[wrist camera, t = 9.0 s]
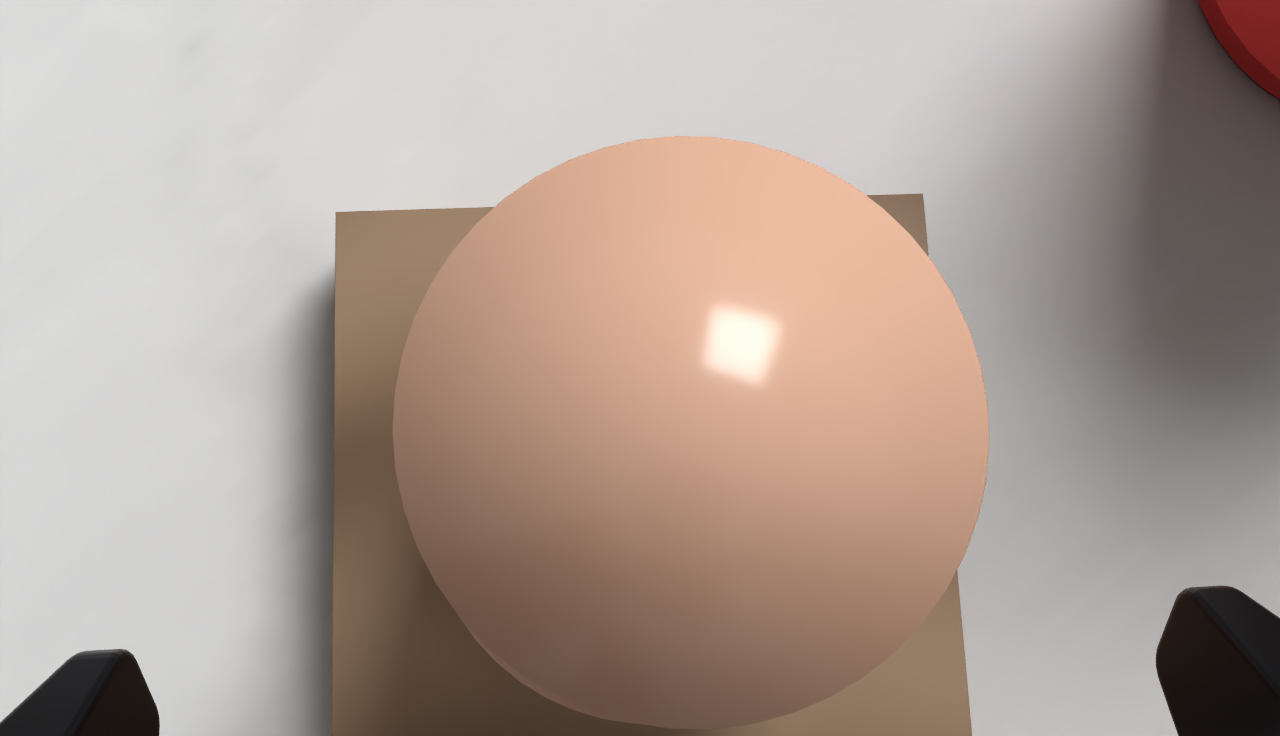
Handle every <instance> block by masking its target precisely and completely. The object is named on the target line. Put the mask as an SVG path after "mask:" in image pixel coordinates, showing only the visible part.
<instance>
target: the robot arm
mask: <svg viewBox="0 0 1280 736" xmlns="http://www.w3.org/2000/svg"><path fill="white" fill-rule="evenodd" d="M1156 668H1157V674H1158V677H1159V681H1160V684H1161V686H1162V689H1163V692H1164V695H1165V698H1166V701H1167V704H1168V707H1169V710H1170V713H1171V715H1172V718H1173V721H1174V724H1175V727H1176V730H1177V733H1178V736H1280V618H1279V617H1278V616H1276V615H1275V614H1273V613H1272V612H1270V611H1269V610H1267V609H1266V608H1265V607H1263V606H1262V605H1260V604H1259V603H1257V602H1256V601H1254V600H1253V599H1252V598H1250V597H1249V596H1247V595H1246V594H1244V593H1243V592H1241V591H1239V590H1237V589H1235V588H1233V587H1229V586H1208V587H1191V588H1187V589H1184V590H1183V591H1182V592H1181V593H1180V594H1179V595H1178V596H1177V598H1176V600H1175V603H1174V606H1173V608H1172V611H1171V613H1170V616H1169V619H1168V621H1167V624H1166V626H1165V629H1164V632H1163V634H1162V637H1161V639H1160V642H1159V645H1158V648H1157V652H1156ZM159 727H160V725H159V715H158V710H157V707H156V704H155V702H154V700H153V698H152V695H151V693H150V691H149V688H148V686H147V684H146V681H145V679H144V677H143V675H142V672H141V670H140V668H139V665H138V663H137V661H136V659H135V657H134V656H133V655H132V654H131V653H130V652H129V651H127V650H123V649H112V650H94V651H84V652H80V653H77V654H76V655H74V656H72V657H71V658H70V659H68V660H67V661H66V662H65V663H64V664H63V665H62V666H61V667H60V668H58V669H57V670H56V671H55V672H54V673H53V674H52V675H51V676H50V677H49V678H48V679H47V680H46V681H44V682H43V683H42V684H41V685H40V686H39V687H38V688H37V689H36V690H35V691H34V692H33V693H32V694H30V695H29V696H28V697H27V698H26V699H25V700H24V701H23V702H22V703H21V704H20V705H19V706H18V707H16V708H15V709H14V710H13V711H12V712H11V713H10V714H9V715H8V716H7V717H6V718H5V719H4V720H2V721H1V722H0V736H159Z"/></svg>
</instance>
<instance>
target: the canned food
mask: <svg viewBox="0 0 1280 736" xmlns="http://www.w3.org/2000/svg"><path fill="white" fill-rule="evenodd" d="M1198 1H1199V4H1200V7H1201V9H1202V11H1203V13H1204V15H1205V17H1206V19H1207V21H1208V23H1209V25H1210V27H1211V29H1212V31H1213V33H1214V35H1215V37H1216V38H1217V39H1218V41H1219V42H1220V43H1221V45H1222V46H1223V47H1224V49H1225V50H1226V51H1227V53H1228V54H1229V55H1230V57H1231V58H1232V59H1233V61H1234V62H1235V63H1236V64H1237V65H1238V66H1239V67H1240V68H1241V69H1242V70H1243V71H1244V72H1245V73H1246V74H1247V75H1248V76H1250V77H1251V78H1252V79H1253V80H1254V81H1255V82H1256V83H1257V84H1258V85H1259V86H1260V87H1261V88H1263V89H1264V90H1266V91H1267V92H1269V93H1271V94H1272V95H1274V96H1275V97H1277V98H1278V99H1280V0H1198Z"/></svg>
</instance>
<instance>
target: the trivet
mask: <svg viewBox="0 0 1280 736" xmlns="http://www.w3.org/2000/svg"><path fill="white" fill-rule="evenodd" d="M867 197H869V198H870V199H871V200H873V201H874V202H875V203H877V204H878V205H879V206H881V207H882V208H883V209H884V210H885V211H886V212H887V213H888V214H889V215H891V216H892V217H893V218H894V219H895V220H896V221H897V222H898V223H899V224H900V225H901V226H902V227H903V228H904V229H905V230H906V231H907V232H908V233H909V234H910V235H911V236H912V237H913V239H914V240H915V241H916V242H917V243H918V245H919V246H920V247H921V248H922V250H923V251H924V252H925V253H926V255H927V256H928V245H927V234H926V223H925V212H924V201H923V194H901V195H868V196H867ZM493 208H494V207H484V208H452V209H420V210H388V211H356V212H336V239H335V372H334V505H333V639H332V736H972V729H971V718H970V707H969V696H968V685H967V674H966V663H965V652H964V641H963V630H962V619H961V608H960V597H959V586H958V575H957V570H956V572H955V574H954V576H953V578H952V580H951V582H950V584H949V586H948V587H947V589H946V591H945V592H944V594H943V595H942V597H941V598H940V599H939V601H938V602H937V604H936V605H935V606H934V608H933V609H932V611H931V612H930V613H929V615H928V616H927V618H926V619H925V620H924V622H923V623H922V624H921V625H920V626H919V627H918V628H917V629H916V630H915V632H914V633H913V634H912V635H911V636H910V637H909V638H908V639H907V640H906V641H905V642H904V643H903V644H902V645H901V646H900V647H899V648H898V649H897V651H896V652H894V653H893V654H892V655H891V656H889V657H888V658H887V659H886V660H884V661H883V662H882V663H881V664H879V665H878V666H877V667H876V668H874V669H873V670H872V671H871V672H869V673H868V674H867V675H866V676H865V677H863V678H861V679H860V680H858V681H856V682H855V683H853V684H851V685H850V686H848V687H846V688H845V689H843V690H841V691H840V692H838V693H836V694H835V695H833V696H831V697H829V698H827V699H825V700H822V701H820V702H818V703H815V704H813V705H811V706H808V707H806V708H804V709H801V710H799V711H796V712H794V713H792V714H788V715H784V716H780V717H777V718H773V719H769V720H766V721H762V722H758V723H754V724H748V725H741V726H733V727H725V728H717V729H670V728H663V727H657V726H650V725H643V724H633V723H627V722H620V721H613V720H607V719H602V718H598V717H595V716H591V715H588V714H585V713H581V712H578V711H574V710H572V709H570V708H567V707H565V706H563V705H561V704H559V703H556V702H554V701H552V700H550V699H547V698H545V697H544V696H542V695H540V694H539V693H537V692H536V691H534V690H532V689H531V688H529V687H528V686H526V685H524V684H523V683H521V682H520V681H518V680H517V679H516V678H515V677H514V676H512V675H511V674H510V673H509V672H507V671H506V670H505V669H504V668H503V667H501V666H500V665H499V664H498V663H497V662H495V660H494V659H493V658H492V657H491V656H490V655H489V654H488V653H487V652H486V651H485V650H484V648H483V647H482V646H481V645H480V644H479V643H478V642H477V641H476V640H475V639H474V637H473V636H472V634H471V633H470V631H469V630H468V629H467V627H466V626H465V624H464V623H463V621H462V620H461V619H460V617H459V616H458V614H457V613H456V611H455V610H454V609H453V607H452V606H451V604H450V603H449V601H448V600H447V599H446V597H445V596H444V594H443V593H442V591H441V590H440V589H439V587H438V586H437V584H436V583H435V581H434V579H433V577H432V575H431V573H430V571H429V569H428V567H427V565H426V563H425V561H424V560H423V558H422V556H421V554H420V552H419V550H418V548H417V546H416V543H415V540H414V537H413V534H412V531H411V529H410V526H409V523H408V520H407V517H406V515H405V512H404V509H403V504H402V499H401V495H400V490H399V485H398V480H397V475H396V471H395V458H394V445H393V431H392V430H393V413H394V397H395V388H396V383H397V378H398V373H399V368H400V362H401V357H402V353H403V350H404V347H405V344H406V341H407V338H408V335H409V332H410V329H411V326H412V323H413V320H414V317H415V315H416V313H417V311H418V309H419V307H420V305H421V303H422V301H423V299H424V297H425V295H426V293H427V291H428V289H429V286H430V284H431V283H432V281H433V280H434V278H435V277H436V275H437V274H438V272H439V271H440V269H441V268H442V266H443V265H444V263H445V261H446V260H447V258H448V257H449V255H450V254H451V252H452V251H453V250H454V249H455V248H456V246H457V245H458V244H459V243H460V242H461V241H462V240H463V238H464V237H465V236H466V235H467V234H468V233H469V232H470V230H471V229H472V228H473V227H474V226H475V225H476V223H478V222H479V221H480V220H481V219H482V218H483V217H484V216H485V215H487V214H488V213H489V212H490V211H491V210H492V209H493ZM928 257H929V256H928Z"/></svg>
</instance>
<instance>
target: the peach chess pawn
mask: <svg viewBox="0 0 1280 736" xmlns="http://www.w3.org/2000/svg"><path fill="white" fill-rule="evenodd" d="M392 431H393V445H394V458H395V471H396V475H397V480H398V485H399V490H400V495H401V499H402V504H403V509H404V512H405V515H406V517H407V520H408V523H409V526H410V529H411V531H412V534H413V537H414V540H415V543H416V546H417V548H418V550H419V552H420V554H421V556H422V558H423V560H424V561H425V563H426V565H427V567H428V569H429V571H430V573H431V575H432V577H433V579H434V581H435V583H436V584H437V586H438V587H439V589H440V590H441V591H442V593H443V594H444V596H445V597H446V599H447V600H448V601H449V603H450V604H451V606H452V607H453V609H454V610H455V611H456V613H457V614H458V616H459V617H460V619H461V620H462V621H463V623H464V624H465V626H466V627H467V629H468V630H469V631H470V633H471V634H472V636H473V637H474V639H475V640H476V641H477V642H478V643H479V644H480V645H481V646H482V647H483V648H484V650H485V651H486V652H487V653H488V654H489V655H490V656H491V657H492V658H493V659H494V660H495V662H497V663H498V664H499V665H500V666H501V667H503V668H504V669H505V670H506V671H507V672H509V673H510V674H511V675H512V676H514V677H515V678H516V679H517V680H518V681H520V682H521V683H523V684H524V685H526V686H528V687H529V688H531V689H532V690H534V691H536V692H537V693H539V694H540V695H542V696H544V697H545V698H547V699H550V700H552V701H554V702H556V703H559V704H561V705H563V706H565V707H567V708H570V709H572V710H574V711H578V712H581V713H585V714H588V715H591V716H595V717H598V718H602V719H607V720H613V721H620V722H627V723H633V724H643V725H650V726H657V727H663V728H670V729H717V728H725V727H733V726H741V725H748V724H754V723H758V722H762V721H766V720H769V719H773V718H777V717H780V716H784V715H788V714H792V713H794V712H796V711H799V710H801V709H804V708H806V707H808V706H811V705H813V704H815V703H818V702H820V701H822V700H825V699H827V698H829V697H831V696H833V695H835V694H836V693H838V692H840V691H841V690H843V689H845V688H846V687H848V686H850V685H851V684H853V683H855V682H856V681H858V680H860V679H861V678H863V677H865V676H866V675H867V674H868V673H869V672H871V671H872V670H873V669H874V668H876V667H877V666H878V665H879V664H881V663H882V662H883V661H884V660H886V659H887V658H888V657H889V656H891V655H892V654H893V653H894V652H896V651H897V649H898V648H899V647H900V646H901V645H902V644H903V643H904V642H905V641H906V640H907V639H908V638H909V637H910V636H911V635H912V634H913V633H914V632H915V630H916V629H917V628H918V627H919V626H920V625H921V624H922V623H923V622H924V620H925V619H926V618H927V616H928V615H929V613H930V612H931V611H932V609H933V608H934V606H935V605H936V604H937V602H938V601H939V599H940V598H941V597H942V595H943V594H944V592H945V591H946V589H947V587H948V586H949V584H950V582H951V580H952V578H953V576H954V574H955V572H956V570H957V568H958V567H959V565H960V563H961V561H962V559H963V557H964V555H965V552H966V549H967V547H968V544H969V541H970V539H971V536H972V533H973V530H974V528H975V525H976V522H977V519H978V515H979V511H980V506H981V502H982V497H983V492H984V488H985V483H986V475H987V464H988V452H989V425H988V404H987V398H986V393H985V387H984V381H983V376H982V370H981V365H980V362H979V359H978V356H977V352H976V349H975V346H974V343H973V340H972V336H971V333H970V330H969V328H968V326H967V324H966V321H965V319H964V317H963V315H962V313H961V310H960V308H959V306H958V304H957V302H956V300H955V297H954V295H953V294H952V292H951V291H950V289H949V287H948V286H947V284H946V282H945V281H944V279H943V278H942V276H941V274H940V273H939V271H938V270H937V268H936V266H935V265H934V263H933V262H932V261H931V260H930V258H929V257H928V256H927V255H926V253H925V252H924V251H923V250H922V248H921V247H920V246H919V245H918V243H917V242H916V241H915V240H914V239H913V237H912V236H911V235H910V234H909V233H908V232H907V231H906V230H905V229H904V228H903V227H902V226H901V225H900V224H899V223H898V222H897V221H896V220H895V219H894V218H893V217H892V216H891V215H889V214H888V213H887V212H886V211H885V210H884V209H883V208H882V207H881V206H879V205H878V204H877V203H875V202H874V201H873V200H871V199H870V198H869V197H867V196H866V195H865V194H863V193H862V192H861V191H859V190H858V189H857V188H855V187H854V186H853V185H851V184H849V183H847V182H846V181H844V180H842V179H840V178H839V177H837V176H835V175H833V174H832V173H830V172H828V171H826V170H825V169H823V168H821V167H819V166H816V165H814V164H812V163H809V162H807V161H805V160H802V159H800V158H797V157H795V156H793V155H790V154H788V153H785V152H781V151H778V150H774V149H771V148H767V147H764V146H760V145H757V144H753V143H749V142H742V141H735V140H729V139H722V138H716V137H689V136H673V137H663V138H652V139H642V140H636V141H632V142H627V143H623V144H618V145H614V146H609V147H605V148H602V149H599V150H596V151H593V152H591V153H588V154H585V155H582V156H579V157H577V158H574V159H571V160H568V161H566V162H565V163H563V164H561V165H559V166H557V167H555V168H553V169H551V170H549V171H547V172H545V173H543V174H541V175H539V176H537V177H535V178H534V179H532V180H531V181H529V182H528V183H526V184H525V185H524V186H522V187H521V188H519V189H518V190H516V191H515V192H513V193H512V194H510V195H509V196H507V197H506V198H505V199H503V200H502V201H501V202H500V203H499V204H498V205H497V206H496V207H494V208H493V209H492V210H491V211H490V212H489V213H488V214H487V215H485V216H484V217H483V218H482V219H481V220H480V221H479V222H478V223H476V225H475V226H474V227H473V228H472V229H471V230H470V232H469V233H468V234H467V235H466V236H465V237H464V238H463V240H462V241H461V242H460V243H459V244H458V245H457V246H456V248H455V249H454V250H453V251H452V252H451V254H450V255H449V257H448V258H447V260H446V261H445V263H444V265H443V266H442V268H441V269H440V271H439V272H438V274H437V275H436V277H435V278H434V280H433V281H432V283H431V284H430V286H429V289H428V291H427V293H426V295H425V297H424V299H423V301H422V303H421V305H420V307H419V309H418V311H417V313H416V315H415V317H414V320H413V323H412V326H411V329H410V332H409V335H408V338H407V341H406V344H405V347H404V350H403V353H402V357H401V362H400V368H399V373H398V378H397V383H396V388H395V397H394V413H393V430H392Z"/></svg>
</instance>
